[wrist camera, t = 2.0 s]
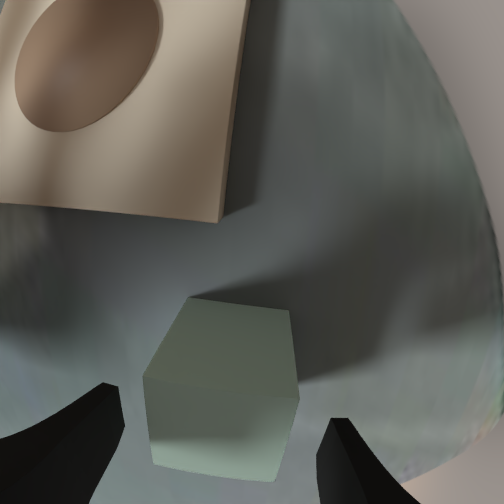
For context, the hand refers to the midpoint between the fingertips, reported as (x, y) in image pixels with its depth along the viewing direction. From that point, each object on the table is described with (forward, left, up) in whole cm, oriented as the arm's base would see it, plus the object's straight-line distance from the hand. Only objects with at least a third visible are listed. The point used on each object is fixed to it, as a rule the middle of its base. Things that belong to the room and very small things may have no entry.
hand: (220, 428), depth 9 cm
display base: (-8, +13, -5) cm, 16 cm away
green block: (0, 0, -5) cm, 5 cm away
